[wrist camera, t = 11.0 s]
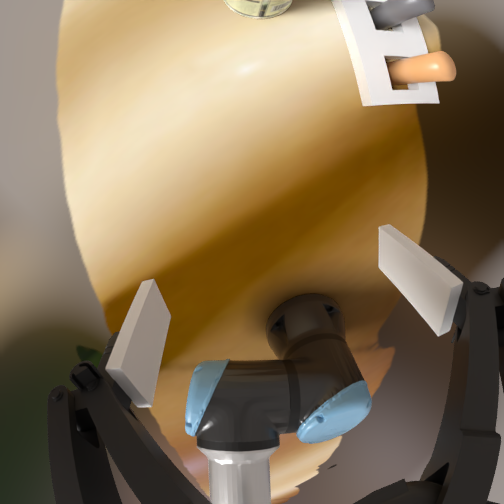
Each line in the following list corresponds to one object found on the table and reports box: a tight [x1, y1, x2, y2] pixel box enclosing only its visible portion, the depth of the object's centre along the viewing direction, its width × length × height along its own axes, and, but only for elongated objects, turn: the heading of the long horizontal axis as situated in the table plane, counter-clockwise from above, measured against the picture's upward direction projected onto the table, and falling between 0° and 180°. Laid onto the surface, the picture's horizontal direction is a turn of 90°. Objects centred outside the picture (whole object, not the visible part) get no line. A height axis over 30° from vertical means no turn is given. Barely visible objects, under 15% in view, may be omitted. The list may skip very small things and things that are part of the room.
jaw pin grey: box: [369, 0, 435, 30], centre depth 21 cm, size 4×4×13 cm
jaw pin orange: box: [386, 51, 456, 85], centre depth 26 cm, size 4×4×13 cm
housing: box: [331, 0, 439, 106], centre depth 28 cm, size 20×14×3 cm
